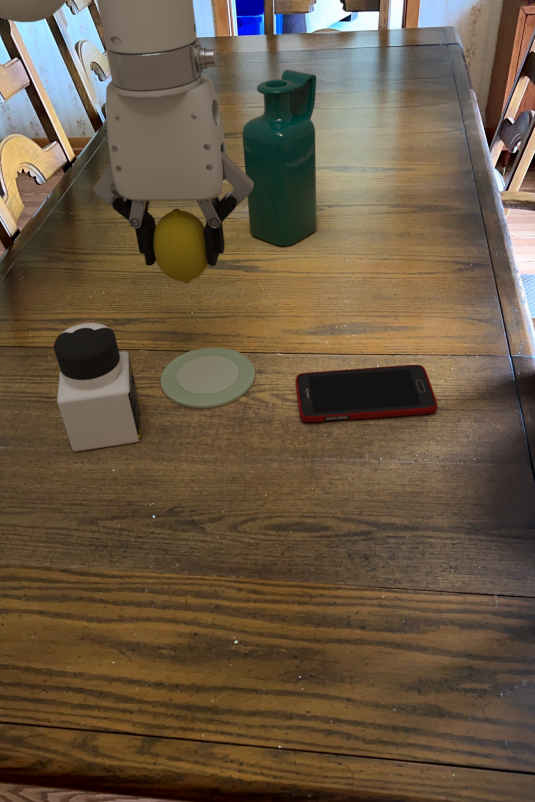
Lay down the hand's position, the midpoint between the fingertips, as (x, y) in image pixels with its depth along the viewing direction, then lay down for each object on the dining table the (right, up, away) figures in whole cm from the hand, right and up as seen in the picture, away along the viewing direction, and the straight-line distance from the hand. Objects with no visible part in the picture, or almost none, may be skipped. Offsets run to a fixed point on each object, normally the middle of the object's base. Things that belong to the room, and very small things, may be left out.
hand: (183, 257), depth 71 cm
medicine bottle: (-9, -17, +6) cm, 20 cm away
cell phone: (+19, -14, +7) cm, 25 cm away
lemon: (0, -2, +2) cm, 3 cm away
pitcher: (+11, +12, +39) cm, 43 cm away
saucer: (+1, -12, +12) cm, 17 cm away
